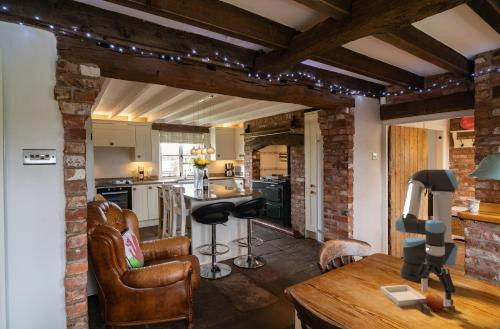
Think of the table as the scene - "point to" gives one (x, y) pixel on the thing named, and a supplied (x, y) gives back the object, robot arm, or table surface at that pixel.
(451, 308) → the block
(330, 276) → the table surface
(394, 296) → the dish
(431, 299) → the fruit
